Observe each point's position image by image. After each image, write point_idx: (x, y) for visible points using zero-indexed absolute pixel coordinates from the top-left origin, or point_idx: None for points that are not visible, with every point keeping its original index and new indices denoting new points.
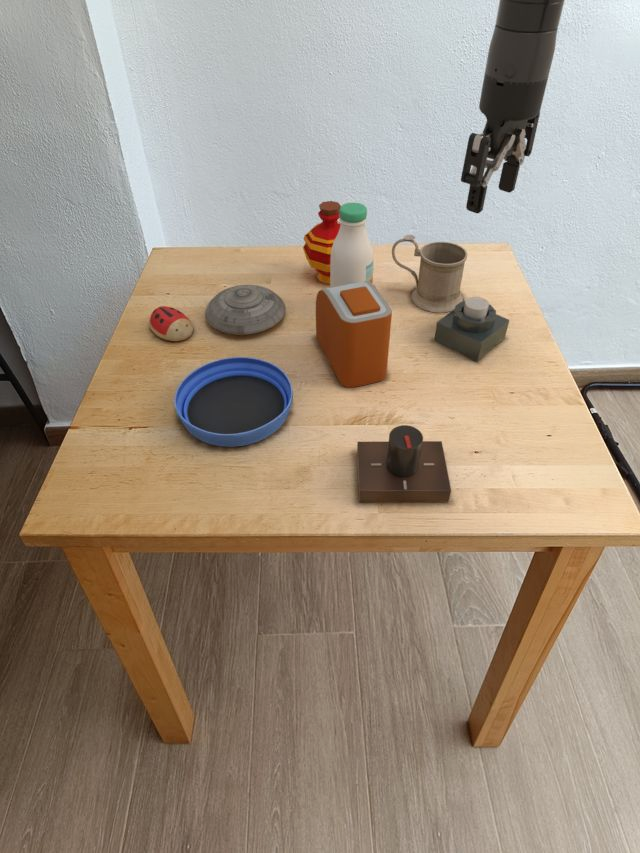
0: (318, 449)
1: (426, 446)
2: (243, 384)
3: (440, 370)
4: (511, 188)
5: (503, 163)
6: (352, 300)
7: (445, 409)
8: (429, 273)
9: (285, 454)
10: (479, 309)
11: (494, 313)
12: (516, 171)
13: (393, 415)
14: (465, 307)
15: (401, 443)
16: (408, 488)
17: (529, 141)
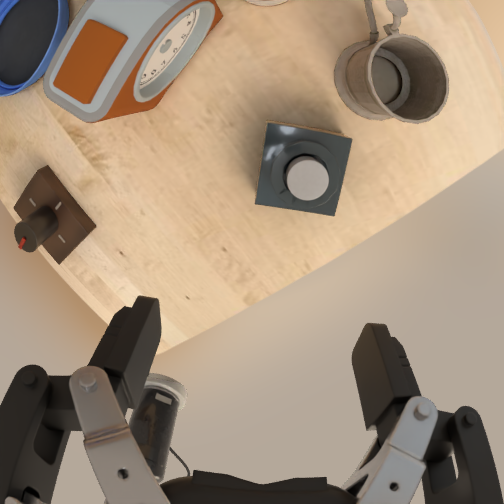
0: (31, 134)
1: (74, 225)
2: (50, 9)
3: (208, 159)
4: (354, 365)
5: (393, 396)
6: (74, 56)
7: (149, 200)
8: (361, 66)
9: (14, 117)
10: (291, 191)
11: (315, 204)
12: (365, 416)
13: (104, 159)
14: (292, 165)
15: (19, 238)
16: None
17: (425, 491)
